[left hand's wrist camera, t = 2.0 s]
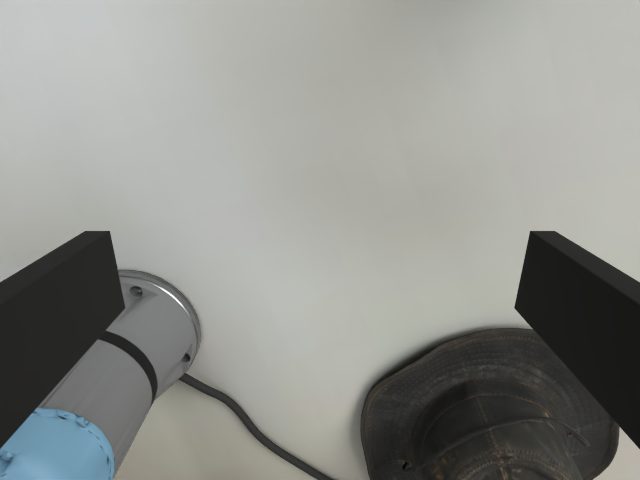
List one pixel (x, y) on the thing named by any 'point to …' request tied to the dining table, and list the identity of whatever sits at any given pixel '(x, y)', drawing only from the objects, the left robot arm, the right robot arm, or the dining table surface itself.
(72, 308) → the left robot arm
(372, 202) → the dining table surface
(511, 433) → the hat
